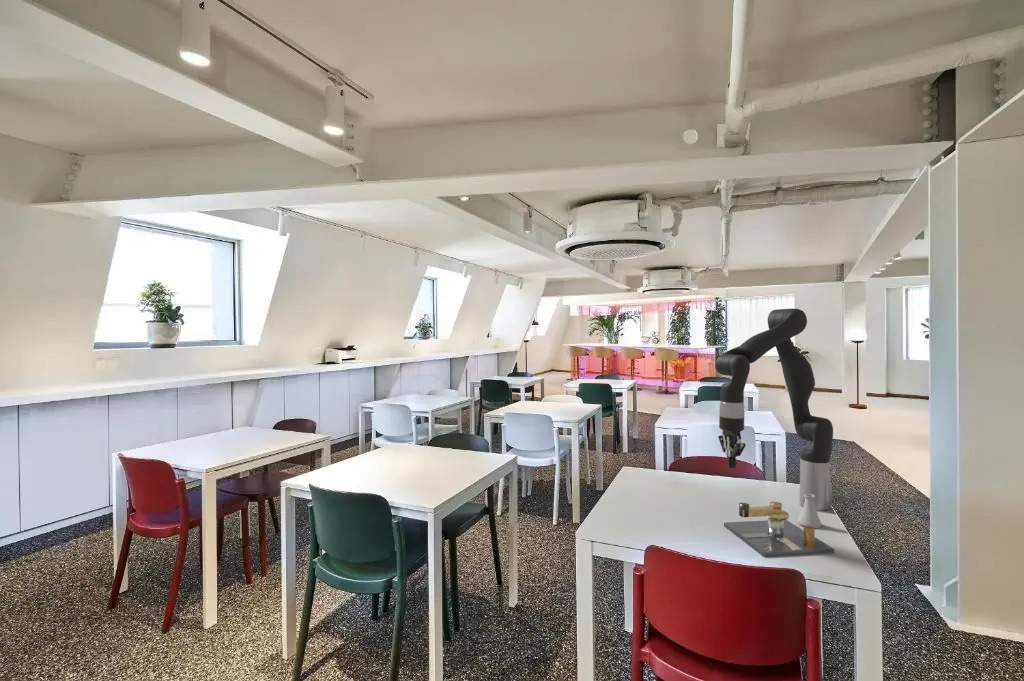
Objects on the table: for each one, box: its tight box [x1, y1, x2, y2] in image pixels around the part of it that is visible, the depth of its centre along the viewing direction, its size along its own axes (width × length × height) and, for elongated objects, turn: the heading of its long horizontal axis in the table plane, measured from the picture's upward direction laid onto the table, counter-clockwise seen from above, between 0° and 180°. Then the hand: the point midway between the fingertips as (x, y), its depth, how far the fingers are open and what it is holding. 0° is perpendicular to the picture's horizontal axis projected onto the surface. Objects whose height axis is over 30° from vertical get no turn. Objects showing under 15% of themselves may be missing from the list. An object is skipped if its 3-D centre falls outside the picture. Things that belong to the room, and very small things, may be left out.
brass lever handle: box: [738, 501, 790, 521], centre depth 156 cm, size 15×7×4 cm, turn 96°
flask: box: [796, 494, 823, 529], centre depth 167 cm, size 7×7×10 cm
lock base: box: [723, 517, 835, 558], centre depth 156 cm, size 22×22×7 cm
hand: (731, 467), depth 164 cm, fingers closed
